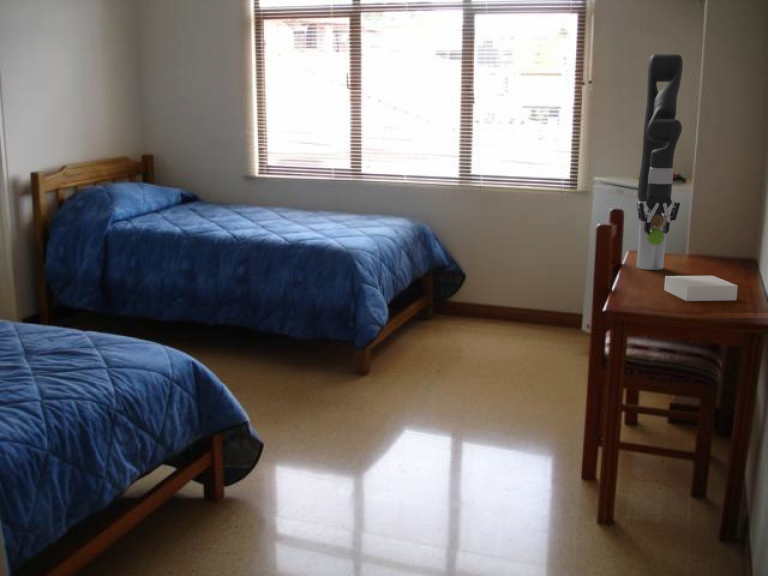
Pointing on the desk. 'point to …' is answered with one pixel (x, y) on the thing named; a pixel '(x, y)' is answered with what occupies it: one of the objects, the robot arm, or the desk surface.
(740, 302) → the desk surface
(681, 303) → the desk surface
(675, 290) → the cream block
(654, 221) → the snail figurine
